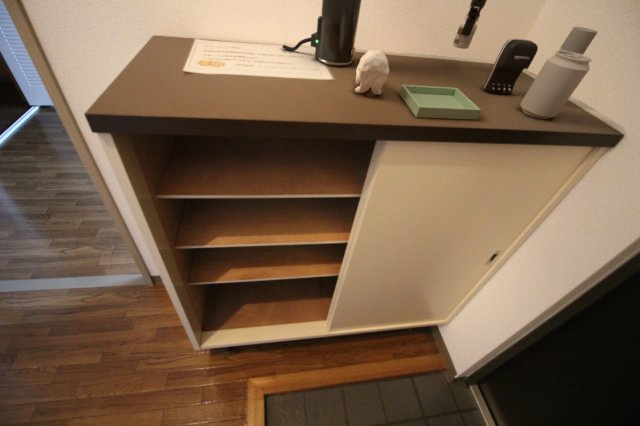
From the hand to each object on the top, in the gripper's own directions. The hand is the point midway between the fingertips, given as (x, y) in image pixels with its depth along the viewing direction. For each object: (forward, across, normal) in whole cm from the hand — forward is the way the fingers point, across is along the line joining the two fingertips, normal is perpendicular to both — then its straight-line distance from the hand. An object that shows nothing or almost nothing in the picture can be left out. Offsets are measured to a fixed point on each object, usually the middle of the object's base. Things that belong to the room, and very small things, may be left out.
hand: (465, 33), depth 77 cm
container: (+8, +12, +22) cm, 27 cm away
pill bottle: (+4, 0, 0) cm, 4 cm away
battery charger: (+9, +14, +12) cm, 21 cm away
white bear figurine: (+9, +33, -17) cm, 38 cm away
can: (+8, +22, +20) cm, 31 cm away
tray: (+9, +33, -1) cm, 34 cm away
